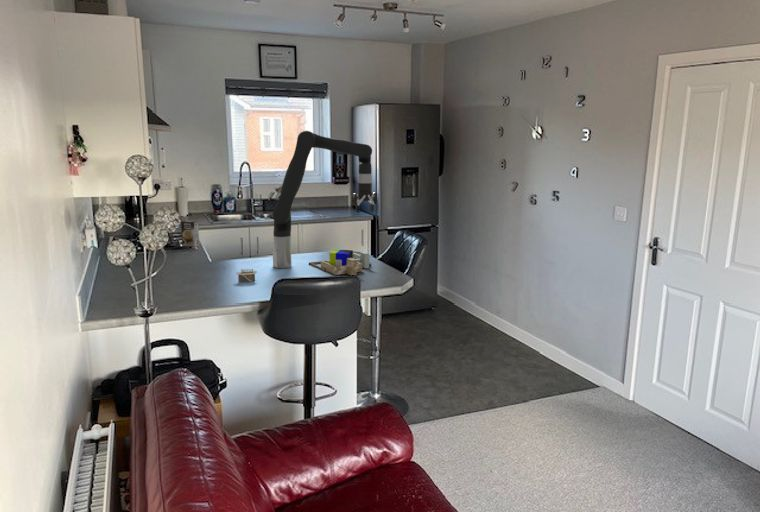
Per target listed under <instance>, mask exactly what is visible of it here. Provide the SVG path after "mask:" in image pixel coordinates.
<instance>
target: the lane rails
mask: <svg viewBox="0 0 760 512" xmlns="http://www.w3.org/2000/svg"><path fill="white" fill-rule="evenodd" d="M321 261H322V260H320V261H310V262H308V265H309V266H311V267H314V268H316V269H319V270H320V271H322V272H326V270H325V269H324V268H322V267H321ZM319 265H320V266H319ZM371 266H372V263H370V262H369V267H371Z"/></svg>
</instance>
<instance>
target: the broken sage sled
mask: <svg viewBox="0 0 760 512" xmlns="http://www.w3.org/2000/svg"><path fill="white" fill-rule="evenodd" d="M369 257H370V254H369V253H368V252H365V251H360V252H359V253H356V252H353V259H355V260H357V262H358V263H361V264H362V269H368V268H370V266H369V263H370V258H369Z"/></svg>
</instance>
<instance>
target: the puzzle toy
mask: <svg viewBox="0 0 760 512" xmlns="http://www.w3.org/2000/svg"><path fill="white" fill-rule="evenodd" d="M353 253H354V251H353V250H350V249H333V250H331V251H330V252H329V260H330V264H331V265H333V266H336V267H337V266H345V265H347V258H353Z"/></svg>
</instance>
